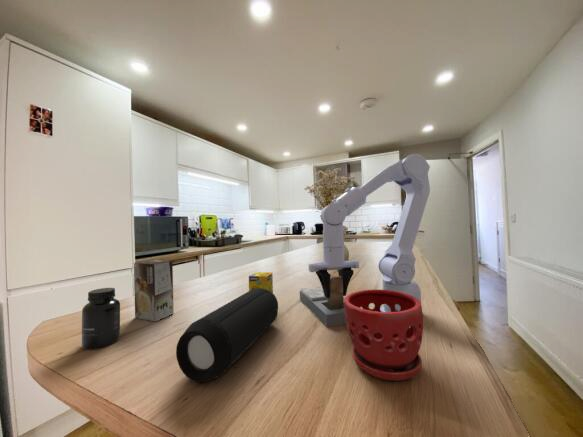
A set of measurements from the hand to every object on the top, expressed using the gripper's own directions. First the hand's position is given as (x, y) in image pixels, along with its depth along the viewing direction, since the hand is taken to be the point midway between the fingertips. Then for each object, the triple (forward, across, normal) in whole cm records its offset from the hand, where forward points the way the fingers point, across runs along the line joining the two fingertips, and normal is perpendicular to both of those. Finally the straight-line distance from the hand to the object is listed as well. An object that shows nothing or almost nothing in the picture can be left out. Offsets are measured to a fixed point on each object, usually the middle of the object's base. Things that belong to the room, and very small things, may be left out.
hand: (335, 295), depth 65 cm
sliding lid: (+2, 0, -11) cm, 11 cm away
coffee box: (+6, +50, -18) cm, 53 cm away
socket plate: (+6, 0, -6) cm, 8 cm away
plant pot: (+6, +2, +23) cm, 24 cm away
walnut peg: (+2, 0, 0) cm, 2 cm away
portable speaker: (+6, +27, +8) cm, 29 cm away
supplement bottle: (+6, +57, -4) cm, 57 cm away
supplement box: (+6, +19, -12) cm, 23 cm away
